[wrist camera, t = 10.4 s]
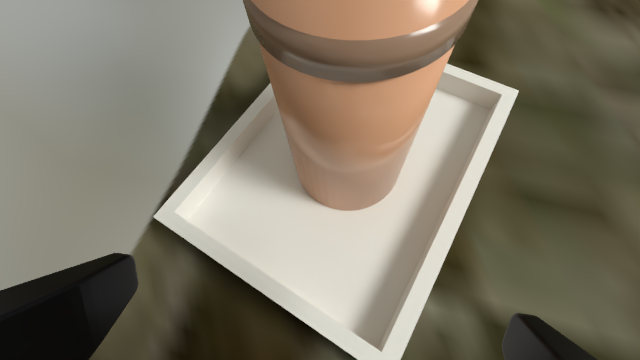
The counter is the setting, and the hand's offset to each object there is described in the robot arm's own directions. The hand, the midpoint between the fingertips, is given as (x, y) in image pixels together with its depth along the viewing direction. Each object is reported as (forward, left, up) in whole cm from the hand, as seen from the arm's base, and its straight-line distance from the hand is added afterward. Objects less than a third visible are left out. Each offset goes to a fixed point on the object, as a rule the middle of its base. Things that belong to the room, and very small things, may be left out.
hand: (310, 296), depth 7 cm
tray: (+8, +3, -10) cm, 13 cm away
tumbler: (+8, +3, -9) cm, 12 cm away
